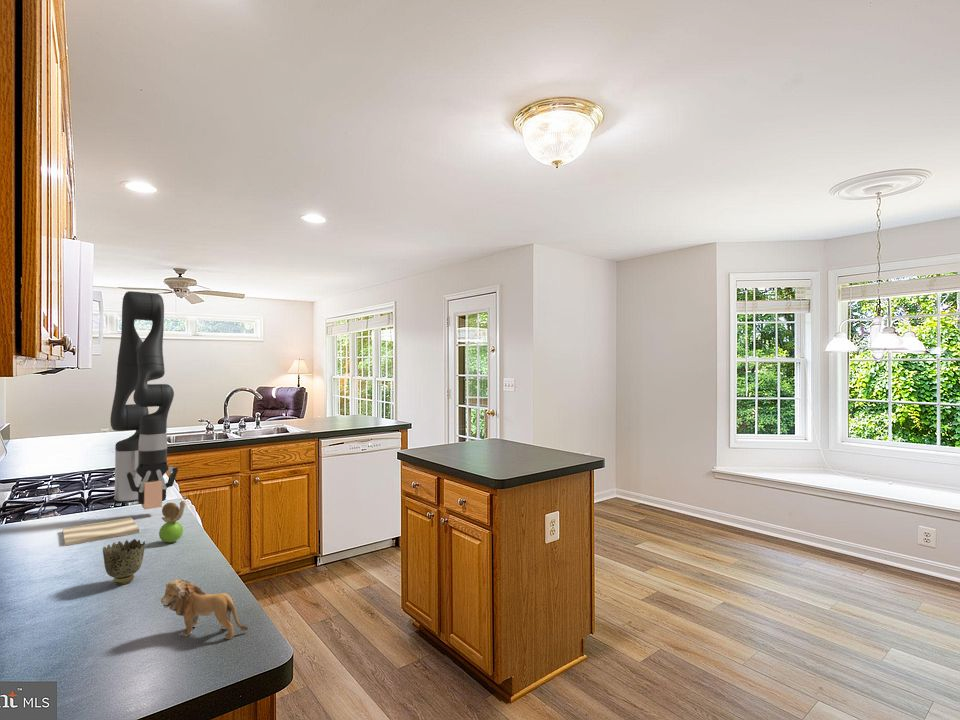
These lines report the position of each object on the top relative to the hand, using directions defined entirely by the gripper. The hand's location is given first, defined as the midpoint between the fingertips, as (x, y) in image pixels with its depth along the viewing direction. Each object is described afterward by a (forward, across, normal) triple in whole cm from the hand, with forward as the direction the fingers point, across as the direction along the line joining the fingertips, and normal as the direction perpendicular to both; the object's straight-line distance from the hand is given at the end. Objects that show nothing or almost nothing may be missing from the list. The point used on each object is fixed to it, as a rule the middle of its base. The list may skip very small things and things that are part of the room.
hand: (151, 502), depth 156 cm
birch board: (+4, +14, +10) cm, 17 cm away
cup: (+3, +13, +54) cm, 56 cm away
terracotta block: (+1, 0, 0) cm, 1 cm away
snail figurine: (+4, 0, +32) cm, 33 cm away
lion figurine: (+3, +6, +89) cm, 89 cm away
